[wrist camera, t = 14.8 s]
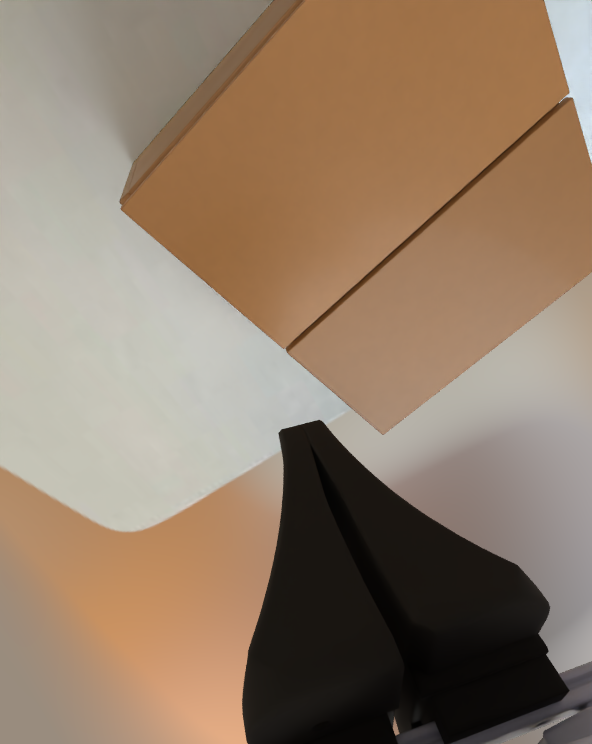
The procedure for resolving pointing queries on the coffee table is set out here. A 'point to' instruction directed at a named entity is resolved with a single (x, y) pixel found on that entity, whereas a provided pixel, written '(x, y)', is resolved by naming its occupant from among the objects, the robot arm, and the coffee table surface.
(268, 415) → the coffee table surface
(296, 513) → the robot arm
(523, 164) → the carton
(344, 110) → the flap
